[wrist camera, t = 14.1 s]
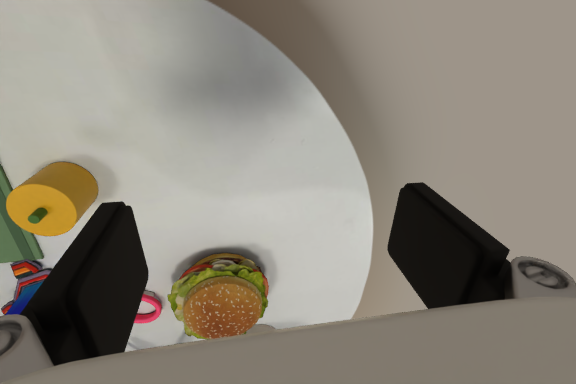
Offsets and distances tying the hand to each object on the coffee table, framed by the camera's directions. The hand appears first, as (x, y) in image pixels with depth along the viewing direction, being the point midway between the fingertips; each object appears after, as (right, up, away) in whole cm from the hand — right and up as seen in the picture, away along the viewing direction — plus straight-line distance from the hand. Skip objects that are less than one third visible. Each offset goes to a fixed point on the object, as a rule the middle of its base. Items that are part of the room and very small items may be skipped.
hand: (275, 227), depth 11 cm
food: (-10, -13, +36) cm, 40 cm away
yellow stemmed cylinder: (-26, +2, +25) cm, 36 cm away
